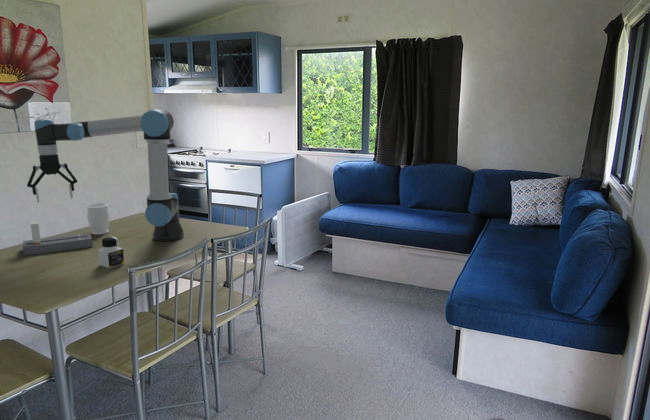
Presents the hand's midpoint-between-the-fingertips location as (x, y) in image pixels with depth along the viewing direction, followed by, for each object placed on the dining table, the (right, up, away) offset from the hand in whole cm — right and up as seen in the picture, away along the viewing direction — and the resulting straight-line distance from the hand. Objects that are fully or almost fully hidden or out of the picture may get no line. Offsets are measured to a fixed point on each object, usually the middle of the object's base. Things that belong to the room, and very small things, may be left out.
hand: (55, 199), depth 219 cm
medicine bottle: (+34, -28, -17) cm, 48 cm away
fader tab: (-8, -21, 0) cm, 23 cm away
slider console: (-1, -23, +4) cm, 23 cm away
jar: (+7, -17, +30) cm, 35 cm away
